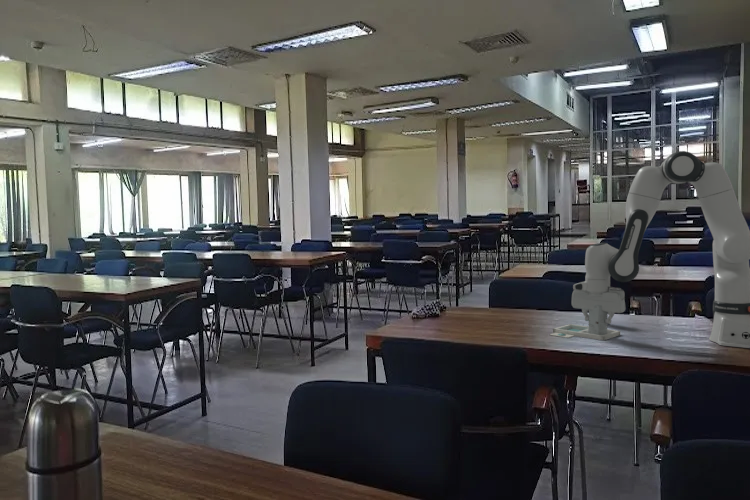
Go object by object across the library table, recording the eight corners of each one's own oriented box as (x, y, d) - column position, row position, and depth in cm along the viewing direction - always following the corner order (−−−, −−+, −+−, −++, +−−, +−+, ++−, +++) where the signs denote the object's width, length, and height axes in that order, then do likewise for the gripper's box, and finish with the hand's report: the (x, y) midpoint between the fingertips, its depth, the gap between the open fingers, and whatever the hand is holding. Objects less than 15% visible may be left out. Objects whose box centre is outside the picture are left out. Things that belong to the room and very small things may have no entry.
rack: (620, 334, 224) (620, 331, 224) (596, 342, 213) (596, 338, 213) (570, 327, 240) (570, 324, 240) (545, 334, 229) (545, 330, 229)
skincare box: (587, 334, 227) (587, 303, 226) (597, 333, 228) (597, 302, 227) (598, 337, 221) (598, 305, 220) (608, 336, 222) (608, 304, 221)
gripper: (628, 287, 217) (628, 324, 218) (577, 283, 233) (578, 317, 234) (620, 289, 213) (620, 326, 214) (569, 284, 229) (569, 320, 230)
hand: (597, 322), depth 224 cm, fingers closed on skincare box, 7 cm apart
